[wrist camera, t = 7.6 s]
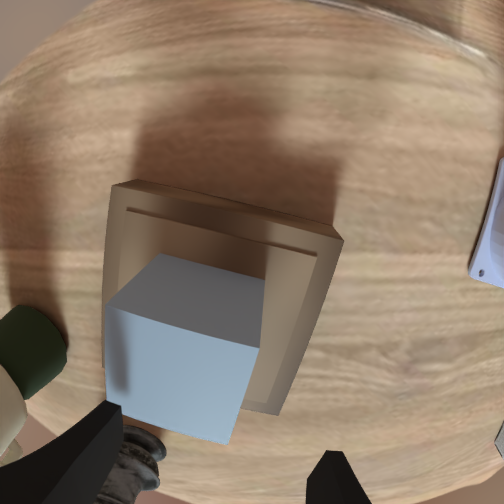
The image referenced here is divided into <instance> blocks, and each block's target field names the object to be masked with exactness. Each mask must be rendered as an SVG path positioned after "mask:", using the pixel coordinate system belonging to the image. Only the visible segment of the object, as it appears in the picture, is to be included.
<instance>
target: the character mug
mask: <svg viewBox="0 0 504 504" xmlns="http://www.w3.org/2000/svg"><path fill="white" fill-rule="evenodd" d="M66 362H67V356H66V345H65V343H64V341H63V339H62V337H61V335H60V333H59V330H58V329H57V328H56V327H55V326H54V325H53V324H52V323H51V322H50V321H49V319H48V318H47V317H46V316H45V315H43V314H41V313H40V312H38V311H36V310H35V309H33V308H31V307H28V306H22V305H18V306H16V307H14V308H13V309H12V310H11V311H9V312H8V313H7V314H6V315H5V316H4V317H3V318H2V319H1V320H0V456H1V455H2V454H3V452H4V451H5V450H6V448H7V447H8V448H9V452H8V453H7V454H6V456H5V457H4V459H3V460H2V461H0V467H1V466H4V465H7V464H9V463H11V462H14V461H16V460H19V459H21V457H22V454H23V450H22V448H21V446H20V445H19V444H18V442H17V441H16V440H15V439H14V438H15V436H16V435H17V434H18V432H19V431H20V430H21V428H22V427H23V425H24V423H25V421H26V419H27V416H28V414H27V408H26V403H25V401H24V400H27V399H29V398H30V397H32V396H33V395H34V394H35V393H37V392H38V391H39V390H40V389H42V388H43V387H44V386H45V385H47V384H48V383H49V382H50V381H51V380H53V379H54V378H55V377H56V376H57V375H58V374H59V373H60V372H61V371H62V370H63V368H64V366H65V364H66Z"/></svg>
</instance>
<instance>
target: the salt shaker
mask: <svg viewBox="0 0 504 504" xmlns="http://www.w3.org/2000/svg"><path fill="white" fill-rule="evenodd" d="M123 434H124V441H123V443H122V446H121V449H120V451H119V454H118V457H117V459H116V462H115V464H114V466H113V467H112V469H111V471H110V473H109V475H108V477H107V479H106V481H105V482H104V484H103V486H102V488H101V490H100V492H99V494H98V495H97V497H96V499H95V501H94V503H93V504H134V502H135V500H136V497H137V495H138V494H139V492H140V491H151V490H155V489H157V488H158V487H159V485H160V479H159V478H158V476H159V471H158V465H157V463H156V462H158V461H161V460H163V459H164V458H165V456H166V448H165V446H164V445H163V443H162V442H161V441H160V440H159V439H158V438H156V437H155V436H154V435H152V434H151V433H149V432H147V431H145V430H143V429H141V428H138V427H134V426H129V425H123Z"/></svg>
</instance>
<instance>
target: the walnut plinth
mask: <svg viewBox="0 0 504 504" xmlns="http://www.w3.org/2000/svg"><path fill="white" fill-rule="evenodd" d="M343 243H344V240H343V239H342V237H341V236H340V235H339V234H338V232H337V231H336V230H335V229H334V227H333V226H330V225H326V224H322V223H319V222H315V221H311V220H308V219H304V218H300V217H296V216H292V215H288V214H284V213H281V212H277V211H273V210H269V209H265V208H261V207H257V206H253V205H248V204H244V203H240V202H236V201H232V200H228V199H223V198H219V197H215V196H210V195H206V194H202V193H197V192H193V191H188V190H184V189H179V188H175V187H170V186H165V185H161V184H156V183H151V182H146V181H142V180H132V181H128V182H123V183H119V184H115V185H112V187H111V195H110V202H109V210H108V219H107V229H106V239H105V251H104V265H103V284H102V367H103V368H105V304H106V303H107V302H108V301H109V300H110V299H111V298H112V297H113V296H115V295H116V294H117V293H118V292H119V291H120V290H121V289H122V288H123V287H124V286H125V285H126V284H127V283H128V282H129V281H130V280H131V279H132V278H133V277H135V276H136V275H137V274H138V273H139V272H140V271H141V270H142V269H143V268H144V267H145V266H146V265H147V264H148V263H150V262H151V261H152V260H153V259H154V258H155V257H156V256H157V255H158V254H159V253H162V254H166V255H169V256H173V257H177V258H181V259H185V260H188V261H192V262H196V263H200V264H204V265H208V266H211V267H215V268H219V269H223V270H227V271H231V272H235V273H239V274H243V275H247V276H251V277H255V278H259V279H263V280H265V288H264V301H263V314H262V326H261V338H260V349H259V352H258V355H257V358H256V362H255V365H254V368H253V371H252V374H251V377H250V380H249V383H248V386H247V389H246V392H245V395H244V398H243V401H242V404H241V407H240V408H241V409H245V410H250V411H255V412H260V413H266V414H271V415H277V416H278V415H279V413H280V411H281V408H282V406H283V404H284V402H285V399H286V397H287V395H288V392H289V390H290V387H291V385H292V383H293V380H294V378H295V375H296V373H297V371H298V368H299V366H300V363H301V361H302V358H303V356H304V353H305V351H306V348H307V346H308V343H309V340H310V338H311V335H312V332H313V330H314V327H315V325H316V322H317V319H318V316H319V314H320V311H321V308H322V305H323V303H324V300H325V297H326V294H327V291H328V288H329V286H330V283H331V280H332V277H333V274H334V271H335V268H336V265H337V262H338V259H339V256H340V253H341V250H342V246H343Z"/></svg>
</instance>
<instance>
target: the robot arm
mask: <svg viewBox="0 0 504 504" xmlns="http://www.w3.org/2000/svg"><path fill="white" fill-rule="evenodd" d="M481 269H482V270H481ZM480 270H481V273H480V274H479V271H480ZM468 274H469V276H470V277H472V278H473V279H476V280H480V281H483V282H486V283H489V284H492V285H495V286H499V287H502V288H504V157H503V158H501V159H500V162H499V167H498V171H497V176H496V180H495V185H494V189H493V193H492V196H491V200H490V204H489V208H488V211H487V215H486V218H485V221H484V225H483V228H482V231H481V234H480V237H479V240H478V243H477V246H476V249H475V252H474V255H473V258H472V260H471V263H470V266H469V269H468ZM123 441H124V434H123V422H122V407H121V405H118V404H115V403H112V402H110V401H107V400H105V401H103V402H102V403H100V404H99V405H98V406H97V407H96V408H95V409H94V410H92V411H91V412H90V413H89V414H88V415H86V416H85V417H84V418H83V419H81V420H80V421H79V422H78V423H76V424H75V425H74V426H72V427H71V428H70V429H68V430H67V431H66V432H64V433H63V434H62V435H60V436H59V437H57V438H56V439H54V440H52V441H51V442H49V443H48V444H46V445H45V446H43V447H41V448H40V449H38V450H36V451H34V452H33V453H31V454H29V455H27V456H25V457H23V458H21V459H19V460H16V461H14V462H11V463H9V464H7V465H4V466H1V467H0V504H93V503H94V501H95V499H96V497H97V495H98V494H99V492H100V490H101V488H102V486H103V484H104V482H105V481H106V479H107V477H108V475H109V473H110V471H111V469H112V467H113V466H114V464H115V462H116V459H117V457H118V454H119V451H120V449H121V446H122V443H123ZM306 504H372V503H371V502H370V500H369V498H368V497H367V495H366V493H365V492H364V490H363V488H362V487H361V485H360V483H359V481H358V480H357V478H356V476H355V474H354V472H353V470H352V468H351V466H350V465H349V463H348V461H347V459H346V457H345V455H344V453H343V452H342V451H329V450H326V452H325V453H324V455H323V456H322V458H321V459H320V461H319V462H318V464H317V465H316V467H315V468H314V470H313V471H312V473H311V474H310V475H309V477H308V478H307V487H306Z"/></svg>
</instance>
